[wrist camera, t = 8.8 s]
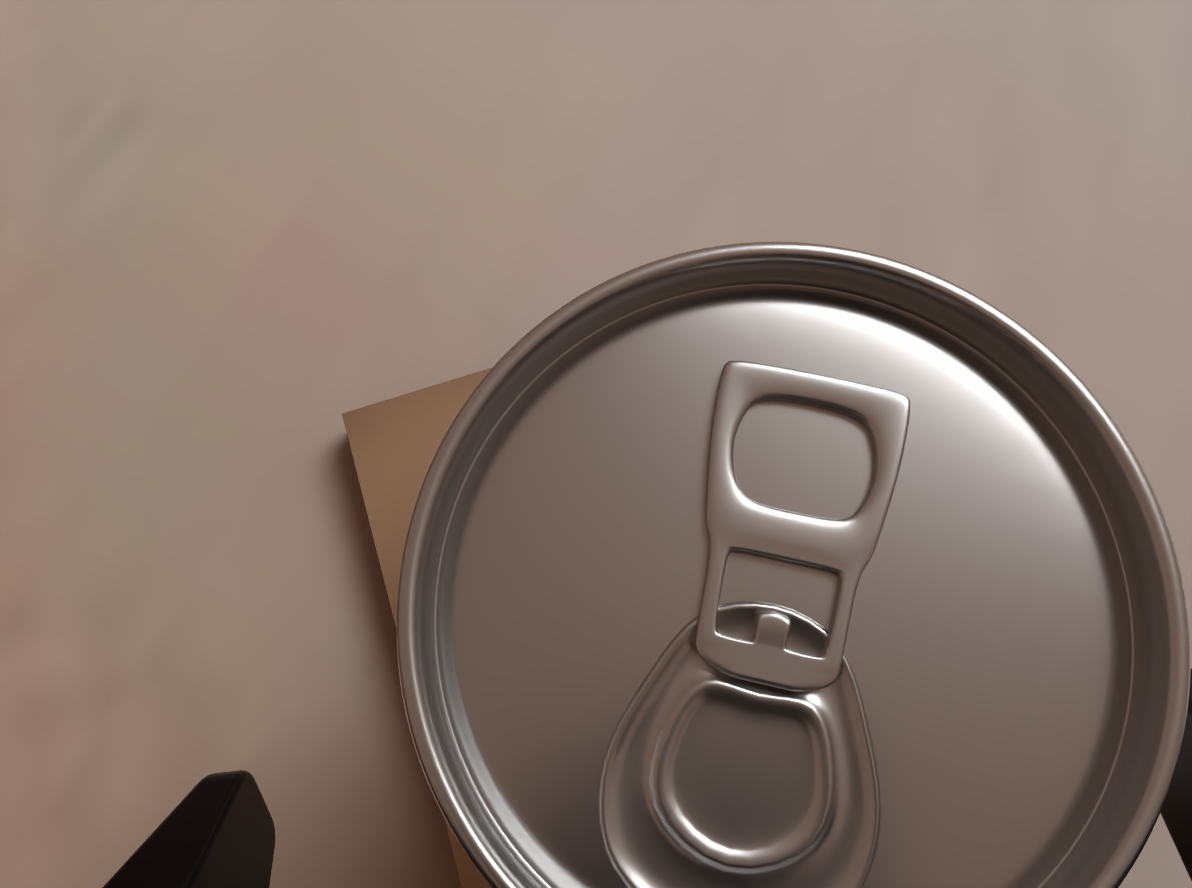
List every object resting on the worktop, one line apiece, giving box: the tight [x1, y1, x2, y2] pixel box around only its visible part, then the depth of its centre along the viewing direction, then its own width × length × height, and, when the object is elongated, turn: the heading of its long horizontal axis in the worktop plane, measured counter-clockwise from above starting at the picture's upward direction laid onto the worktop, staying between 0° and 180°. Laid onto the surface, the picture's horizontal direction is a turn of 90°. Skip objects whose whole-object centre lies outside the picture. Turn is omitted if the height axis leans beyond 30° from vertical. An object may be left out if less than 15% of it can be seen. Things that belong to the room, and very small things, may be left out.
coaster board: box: [342, 368, 492, 888], centre depth 19 cm, size 13×10×1 cm
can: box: [397, 242, 1190, 888], centre depth 12 cm, size 6×6×12 cm
